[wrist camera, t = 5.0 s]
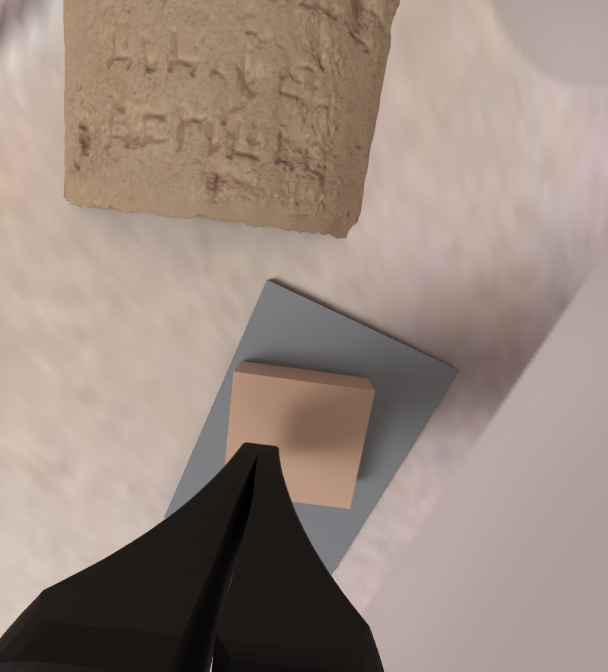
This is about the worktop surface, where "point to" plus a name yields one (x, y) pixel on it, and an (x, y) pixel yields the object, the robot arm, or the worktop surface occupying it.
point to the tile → (303, 426)
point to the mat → (341, 358)
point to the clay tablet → (224, 107)
